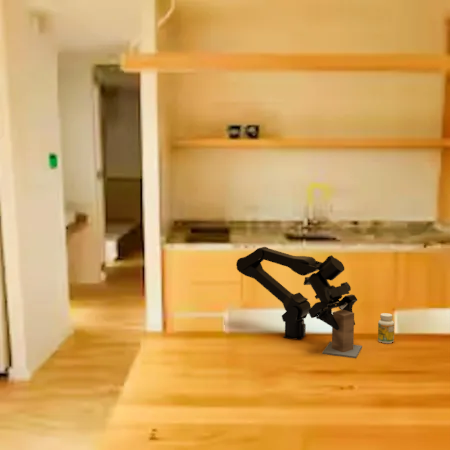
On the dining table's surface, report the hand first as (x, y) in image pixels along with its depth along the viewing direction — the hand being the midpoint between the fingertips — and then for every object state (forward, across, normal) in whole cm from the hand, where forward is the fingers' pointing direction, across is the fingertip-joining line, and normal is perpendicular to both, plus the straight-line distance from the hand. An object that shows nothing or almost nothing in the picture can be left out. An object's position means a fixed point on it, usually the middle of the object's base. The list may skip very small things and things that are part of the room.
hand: (346, 327), depth 195 cm
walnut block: (+4, 0, +6) cm, 8 cm away
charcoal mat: (+5, 0, +7) cm, 8 cm away
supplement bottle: (+7, +19, +5) cm, 21 cm away
